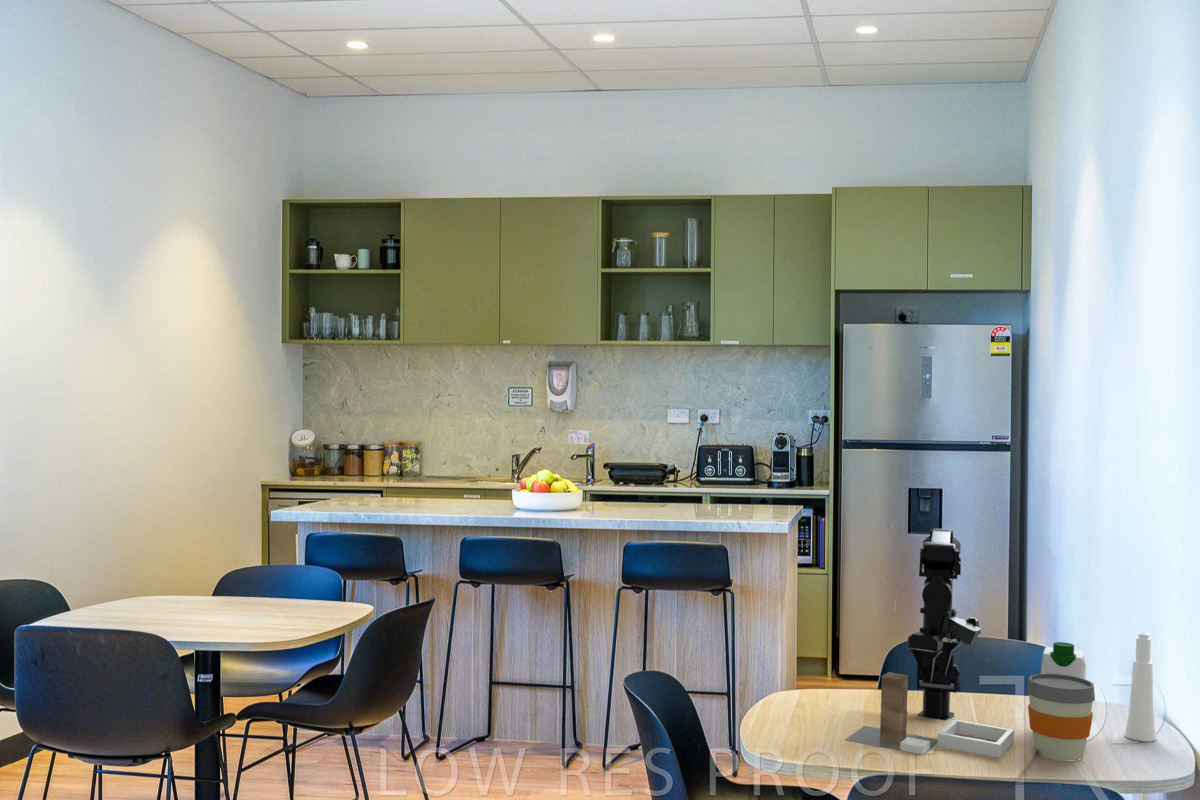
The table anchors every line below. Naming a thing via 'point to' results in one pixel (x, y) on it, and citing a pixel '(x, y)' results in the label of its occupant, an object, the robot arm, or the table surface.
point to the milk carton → (1063, 660)
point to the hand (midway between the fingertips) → (935, 678)
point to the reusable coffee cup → (1060, 715)
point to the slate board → (873, 738)
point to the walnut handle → (893, 707)
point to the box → (994, 749)
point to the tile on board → (915, 745)
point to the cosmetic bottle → (1141, 694)
